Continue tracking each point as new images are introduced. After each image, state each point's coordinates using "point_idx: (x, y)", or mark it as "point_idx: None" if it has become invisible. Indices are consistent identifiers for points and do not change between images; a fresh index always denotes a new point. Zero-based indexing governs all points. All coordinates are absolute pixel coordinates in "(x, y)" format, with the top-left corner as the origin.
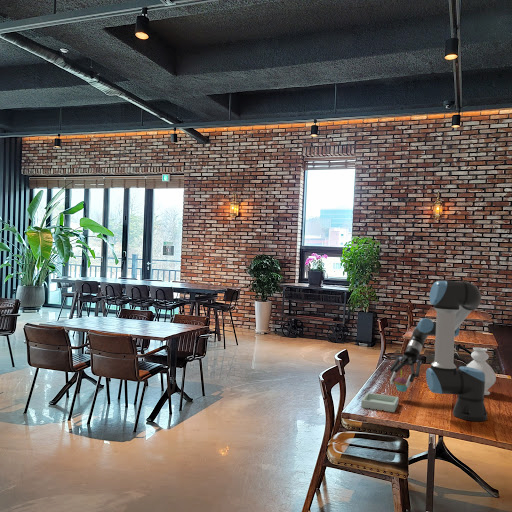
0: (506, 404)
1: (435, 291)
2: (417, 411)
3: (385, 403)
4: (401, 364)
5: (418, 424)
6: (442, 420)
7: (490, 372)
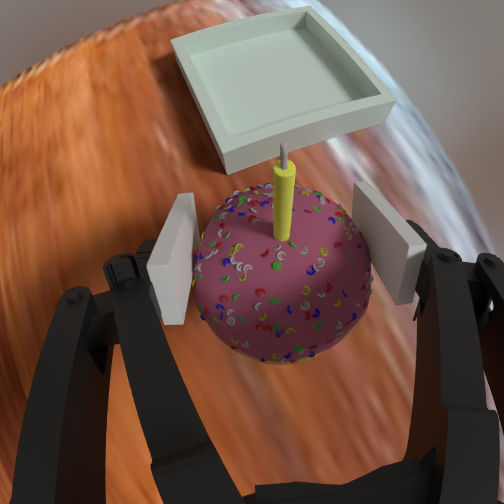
0: None
1: None
2: (101, 150)
3: (212, 29)
4: (437, 386)
5: (74, 51)
6: (12, 144)
7: None
